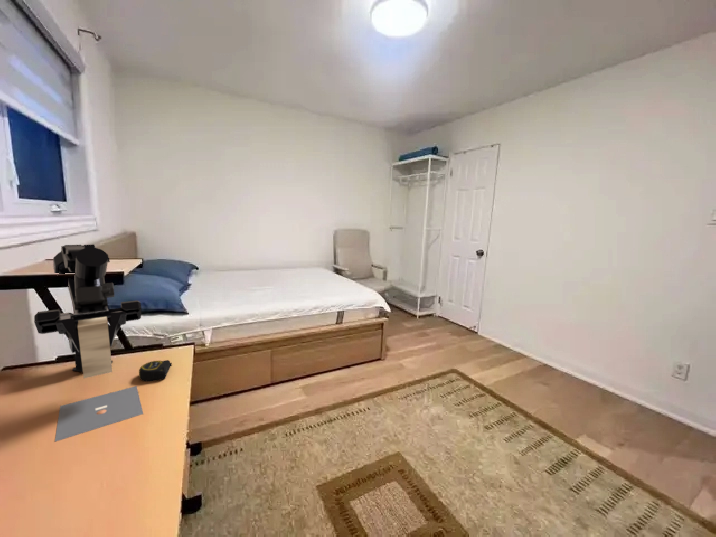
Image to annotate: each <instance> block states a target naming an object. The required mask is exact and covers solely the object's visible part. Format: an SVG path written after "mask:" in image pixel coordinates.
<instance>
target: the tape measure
mask: <svg viewBox="0 0 716 537" xmlns="http://www.w3.org/2000/svg"><path fill="white" fill-rule="evenodd" d="M172 366H173V364H172V362H171V361H170V360H169V359H167V360H165V359H164V360H153V361H152V360H151V361H148V362H146V363H144V364H141V366H140V367H139V369H138V377H139V379H140V381H142V382H154V381H161V380H164V379H166V377H167V375H168V372H169V371H170V369H171V367H172Z"/></svg>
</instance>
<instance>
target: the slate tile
mask: <svg viewBox="0 0 716 537" xmlns="http://www.w3.org/2000/svg"><path fill="white" fill-rule="evenodd" d="M59 406H60V407H59V412H58V418H57V425H56V431H55V432H56V433H55V439H54V442H59V441H62V440H64V439H69V438H72V437H74V436H77V435H80V434H81V435H82V434H85V433H88V432H90V431H93V430H98V429H99V428H103V427H106V426H109V425H113V424H116V423H119V422H122V421H125V420H129V419H133V418H135V417H138V416H141V415H144V411H143V408H142V404H141V400H140V395H139V391H138V386H137V385H135V386H132V387H126V388H124V389H119V390H116V391H113V392H109V393H104V394H101V395H97V396H94V397H89V398H85V399H81V400H78V401H75V402H70V403H66V404H63V405H59Z"/></svg>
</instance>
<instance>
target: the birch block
mask: <svg viewBox="0 0 716 537" xmlns="http://www.w3.org/2000/svg"><path fill="white" fill-rule="evenodd" d="M108 322H109V321H108V318H107V317H99V318H92V319H85V320H78V334H79V343H80V352H81V361H82V369H83V372H82V376H83V379H88V378H92V377H96V376H101V375H105V374H109V373H113V365H112V363H113V362H112V363H111V360H112V355H111V354H112V353H111V347H110V343H109V332H108V324H109V323H108Z"/></svg>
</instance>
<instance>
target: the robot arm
mask: <svg viewBox="0 0 716 537" xmlns="http://www.w3.org/2000/svg"><path fill="white" fill-rule="evenodd" d="M60 247H61V249H60V252H58V253H57V254H55V256H54V257H53V262H52V263H53V264H52V265H53V266H52V267H53V273H59V274H65V273H75V275H74V280H73V279H71V278H68V286H69V287H68V286H67V289H68V291H69V292H68V293H69V296H70V299H71V304H72V307H73V308H72V309H73V312H74V313H72V312H63V313H62V312H61V309H51V310H43V311H38V312H36V313H35V314H34V316H33V317H34V318H33V322H34V325H35V327H36V331H37V333H38V334H40V335H44V334H51V333H58V334H59V335H65V336H67V337H68V344H69V349H70V352H71V354H74V353H75V356H74V362H75V363H74V364H75V365H74V366H75V367H73V368H72V369H71V371H72V372H81V373H83V369H82V361H81V352H80V343H79V334H78V320H85V319H92V318H99V317H107V319H108V318H110V319H109V320H110V321H109V323H108V332H109V343H110V348H112V347H113V345H114V340H115V338H116V336H117V334H118V331H119V330H120V328H121V326H123V325H126V324H127V322H131V321H139V320H140V319H142V304H141V301H139V300H129V301H120V307H117V308H108V306H109V305H108V303H109V301H108V298H109V299H110V298H115V289H114V287H115V286H114V283H113V282H107V283H106V281H105V276H106V273H107V269H108V268H107V267H108V263H110V257H109V254H108V253H107V252H106V251H105V250H104V249H101V248H98V247H96V246H95V244H83V245H82V244H65V245H62V246H60ZM113 362H114V361H113V360H112V359H111V363H113Z"/></svg>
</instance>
